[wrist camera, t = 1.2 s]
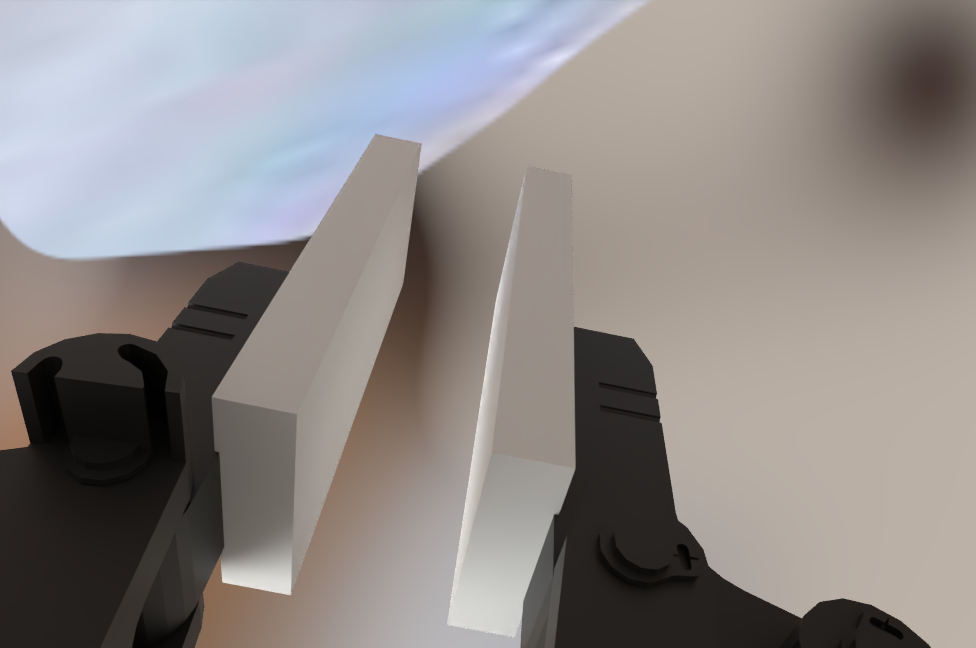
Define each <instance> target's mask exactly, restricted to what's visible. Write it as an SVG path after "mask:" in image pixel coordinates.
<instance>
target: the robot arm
mask: <svg viewBox="0 0 976 648" xmlns="http://www.w3.org/2000/svg"><path fill="white" fill-rule="evenodd" d="M420 151H421V143H416V142H411V141H406V140H401V139H397V138H392V137H387V136H382V135H377V134H375V136H374V138H373V139H372V141H371V142H370V144H369V146H368V147H367V149H366V150H365V152H364V154H363V155H362V157H361V158H360V160H359V162H358V163H357V165H356V166H355V168H354V170H353V171H352V173H351V174H350V176H349V178H348V179H347V181H346V182H345V184H344V186H343V187H342V189H341V190H340V192H339V194H338V195H337V197H336V198H335V200H334V202H333V203H332V205H331V207H330V208H329V210H328V211H327V213H326V215H325V216H324V218H323V219H322V221H321V223H320V224H319V226H318V227H317V229H316V231H315V232H314V234H313V235H312V237H311V239H310V240H309V242H308V243H307V245H306V247H305V248H304V250H303V251H302V253H301V255H300V256H299V258H298V260H297V261H296V263H295V264H294V266H293V268H292V269H291V271H290V272H287V271H282V270H277V269H272V268H267V267H262V266H257V265H252V264H247V263H243V262H238V263H236V264H234V265H232V266H231V267H228V268H227V269H225V270H223V271H221V272H219V273H217V274H216V275H214V276H212V277H210V278H208V279H207V280H206V281H205V283H204V284H203V285H202V286H201V287H200V289H199V290H198V291H197V292H196V294H195V295H194V296H193V298H192V299H191V300H190V301H189V303H188V307H187V308H184V309H183V310H182V311H181V313H180V314H179V315H178V316H177V318H176V319H175V320H174V321H173V323H172V328H168V329H167V330H166V331H165V333H164V334H163V335H162V336H161V338H160V339H159V340H158V341H157V342H156V341H153V340H149V339H146V338H142V337H138V336H134V335H131V334H105V333H97V334H92V335H86V336H81V337H76V338H70V339H65V340H62V341H60V342H57V343H56V344H53V345H51V346H48V347H46V348H43V349H41V350H39V351H36V352H35V353H33V354H32V355H30V356H29V357H28V358H27V359H25V360H24V361H23V362H22V363H20V364H19V365H18V366H17V367H16V368H14V369H13V370H12V371H11V372H12V376H13V380H14V383H15V387H16V391H17V394H18V398H19V402H20V406H21V410H22V413H23V417H24V421H25V424H26V428H27V432H28V436H29V440H30V445H29V446H28V447H24V448H16V449H8V450H0V648H195V645H196V642H197V639H198V636H199V633H200V631H201V626H202V619H203V611H204V599H203V591H204V588H205V586H206V584H207V582H208V580H209V578H210V576H211V574H212V571H213V570H214V567H215V565H216V563H217V561H218V559H219V557H220V555H221V568H222V582H224V583H229V584H235V585H240V586H245V587H251V588H256V589H261V590H266V591H271V592H277V593H282V594H288V595H291V593H292V590H293V588H294V585H295V582H296V579H297V576H298V574H299V571H300V568H301V565H302V563H303V560H304V557H305V554H306V551H307V549H308V546H309V543H310V540H311V538H312V535H313V532H314V529H315V526H316V524H317V521H318V518H319V515H320V513H321V510H322V507H323V504H324V502H325V499H326V496H327V493H328V490H329V487H330V485H331V482H332V479H333V477H334V474H335V471H336V468H337V465H338V462H339V460H340V457H341V454H342V452H343V448H344V446H345V443H346V440H347V438H348V435H349V432H350V429H351V426H352V424H353V421H354V418H355V415H356V412H357V410H358V407H359V404H360V401H361V399H362V396H363V393H364V390H365V387H366V385H367V382H368V379H369V376H370V374H371V371H372V368H373V365H374V362H375V360H376V357H377V354H378V351H379V349H380V346H381V343H382V340H383V338H384V335H385V332H386V329H387V326H388V324H389V321H390V318H391V315H392V313H393V310H394V307H395V304H396V301H397V299H398V295H399V293H400V290H401V288H402V285H403V280H404V272H405V265H406V257H407V250H408V241H409V234H410V227H411V219H412V211H413V204H414V197H415V189H416V181H417V174H418V166H419V159H420ZM572 234H573V233H572V175H570V174H564V173H559V172H555V171H550V170H546V169H541V168H536V167H531V166H526V170H525V174H524V179H523V183H522V188H521V192H520V197H519V201H518V205H517V210H516V215H515V219H514V223H513V228H512V232H511V237H510V241H509V246H508V250H507V254H506V259H505V263H504V268H503V272H502V277H501V281H500V285H499V290H498V294H497V299H496V304H495V310H494V317H493V324H492V330H491V337H490V344H489V350H488V358H487V364H486V370H485V377H484V384H483V390H482V397H481V403H480V411H479V418H478V423H477V430H476V437H475V443H474V450H473V457H472V464H471V470H470V476H469V483H468V490H467V496H466V503H465V510H464V516H463V524H462V530H461V536H460V543H459V550H458V556H457V563H456V569H455V576H454V583H453V589H452V596H451V603H450V609H449V616H448V623H447V625H451V626H457V627H462V628H467V629H473V630H478V631H483V632H488V633H494V634H500V635H505V636H510V637H515V634H516V632H517V629H518V626H519V623H520V621H521V618H522V631H521V648H931V647H930V646H929V645H928V644H927V643H926V642H925V641H924V640H923V639H921V638H920V637H919V636H918V635H917V634H916V633H914V632H913V631H912V630H911V629H910V628H909V627H907V626H906V625H905V624H904V623H902V622H901V621H900V620H898V619H896V618H894V617H892V616H891V615H889V614H887V613H885V612H883V611H881V610H879V609H877V608H876V607H874V606H872V605H869V604H864V603H860V602H856V601H852V600H847V599H836V600H831V601H823V602H819V603H818V604H817V605H816V606H815V607H813V608H812V609H811V610H810V611H809V612H808V613H807V614H805V615H804V616H803V618H799V617H797V616H795V615H793V614H791V613H789V612H787V611H785V610H783V609H781V608H779V607H777V606H775V605H772V604H771V603H769V602H766V601H764V600H762V599H760V598H758V597H756V596H754V595H752V594H750V593H748V592H746V591H744V590H742V589H740V588H739V587H737V586H735V585H733V584H732V583H730V582H728V581H727V580H725V579H723V578H722V577H721V576H720V575H718V574H717V573H716V572H715V571H714V570H712V569H711V568H710V567H709V566H708V563H707V560H706V557H705V553H704V550H703V548H702V547H701V546H700V544H699V543H698V542H697V540H696V539H695V538H694V536H693V535H692V534H691V532H690V531H689V529H688V528H687V527H686V526H684V525H683V524H682V523H680V522H679V521H678V519H677V516H676V513H675V505H674V499H673V493H672V486H671V480H670V474H669V468H668V461H667V455H666V448H665V442H664V436H663V429H662V424H661V423H660V411H659V404H658V399H656V395H657V391H656V385H655V379H654V372H653V366H652V365H651V363H650V361H649V360H648V359H647V357H646V356H645V354H644V353H643V352H642V350H641V349H640V347H639V346H638V345H637V343H636V342H635V340H634V339H632V338H627V337H622V336H617V335H611V334H607V333H602V332H597V331H592V330H587V329H582V328H577V327H574V316H573V313H574V312H573V239H572V237H573V235H572Z"/></svg>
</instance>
